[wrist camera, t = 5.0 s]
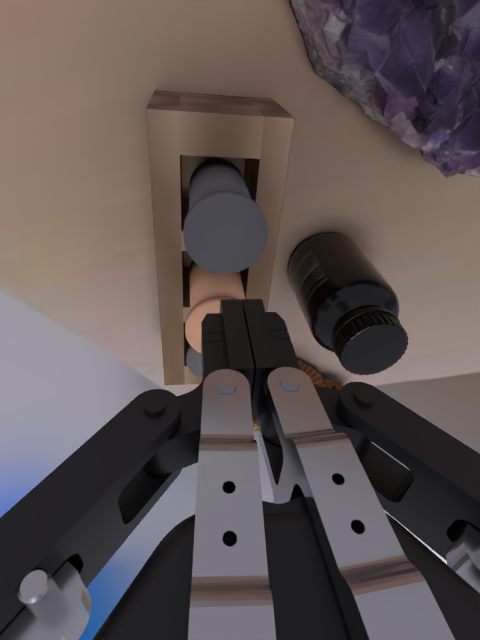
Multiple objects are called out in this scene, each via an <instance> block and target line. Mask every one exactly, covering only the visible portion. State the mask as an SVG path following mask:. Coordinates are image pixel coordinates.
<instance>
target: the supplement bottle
mask: <svg viewBox="0 0 480 640" xmlns="http://www.w3.org/2000/svg"><path fill="white" fill-rule="evenodd" d="M288 276H289V281H290V284H291V286H292V289H293V291H294V293H295V295H296V298H297V300H298V302H299V305H300V307H301V309H302V312H303V314H304V316H305V319H306V321H307V323H308V325H309V328H310V330H311V332H312V334H313V336H314V338H315V340H316V341H317V342H318V343H319V344H320V345H321V346H322V347H324V348H326V349H327V350H330V351H332V352H335V354H336V355H337V356H338V358H339V360H340V362H341V364H342V366H343V367H344V368H345V369H346V370H347V371H349V372H350V373H354V374H359V375H369V374H375V373H379V372H381V371H383V370H386V369H387V368H389V367H391V366H392V365H393V364H395V363H396V362H397V361H398V360H399V359H400V358H401V357H402V355H403V354H404V353H405V350H406V349H407V345H408V337H407V333H406V331H405V330H404V328H403V327H402V326H401V324H400V322H399V320H398V315H399V302H398V298H397V296H396V294H395V292H394V291H393V289H392V288H391V287H390V285H389V284H388V283H387V282H386V280H385V279H384V278H383V277H382V275H381V274H380V273H379V272H378V271H377V269H376V268H375V267H374V266H373V264H372V263H371V262H370V261H369V259H368V258H367V257H366V256H365V255H364V253H363V252H362V251H361V250H360V248H359V247H358V246H357V245H356V244H355V243H354V242H353V241H352V240H351V239H350V238H348V237H346V236H344V235H341V234H338V233H324V234H320V235H317V236H314V237H312V238H310V239H308V240H307V241H305V242H304V243H303V244H301V245H300V246H299V247H298V249H297V250H296V251H295V252H294V254H293V256H292V258H291V260H290V263H289V267H288Z"/></svg>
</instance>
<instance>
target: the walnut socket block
mask: <svg viewBox="0 0 480 640" xmlns="http://www.w3.org/2000/svg"><path fill="white" fill-rule="evenodd" d="M146 117H147V132H148V146H149V161H150V176H151V190H152V205H153V220H154V235H155V249H156V264H157V279H158V293H159V308H160V323H161V337H162V352H163V367H164V381H165V385H180V384H200V383H201V382H202V380H203V379H202V378H199V377H197V376H195V375H194V374H193V373H191V372H190V370H189V369H188V367H187V362H186V355H187V350H188V348H189V347H190V344H189V343H188V341H187V339H186V335H185V321H186V317H187V315H188V313H189V311H190V264H191V261H192V258H191V257H190V256H189V254H188V252H187V250H186V248H185V244H184V238H183V230H184V222H185V218H186V216H187V214H188V212H189V182H190V178H191V175H192V173H193V172H194V170H195V169H196V168H197V167H198V166H199V165H200V164H202V163H203V162H205V161H208V160H211V159H223V160H226V161H229V162H231V163H233V164H234V165H235V166H236V167H237V168H238V169H239V170H240V171H241V173H242V175H243V178H244V180H245V183H246V186H247V188H248V191H249V194H250V196H251V199H252V200H254V201H255V202H256V203H257V204H258V206H259V207H260V208H261V210H262V212H263V214H264V216H265V219H266V222H267V225H268V241H267V245H266V248H265V250H264V252H263V253H262V255H261V256H260V258H259V259H258V260H257V261H256V262H255V263H254V264H252V265H251V266H250V267H248V268H246V269H244V270H242V271H240V276H241V281H242V285H243V290H244V295H245V299H262V301H263V305H264V308H265V312H267V306H268V299H269V292H270V285H271V278H272V271H273V264H274V257H275V250H276V243H277V237H278V230H279V223H280V216H281V209H282V202H283V195H284V188H285V181H286V174H287V167H288V160H289V154H290V147H291V140H292V133H293V126H294V119H295V118H294V117H292V116H291V115H290V114H289V113H288V112H287V111H285V110H284V109H283V108H282V107H281V106H280V105H279V104H277V103H276V102H275V101H274V100H273V99H265V98H251V97H236V96H222V95H208V94H193V93H179V92H165V91H154V94H153V96H152V98H151V100H150V102H149V104H148V106H147V108H146Z"/></svg>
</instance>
